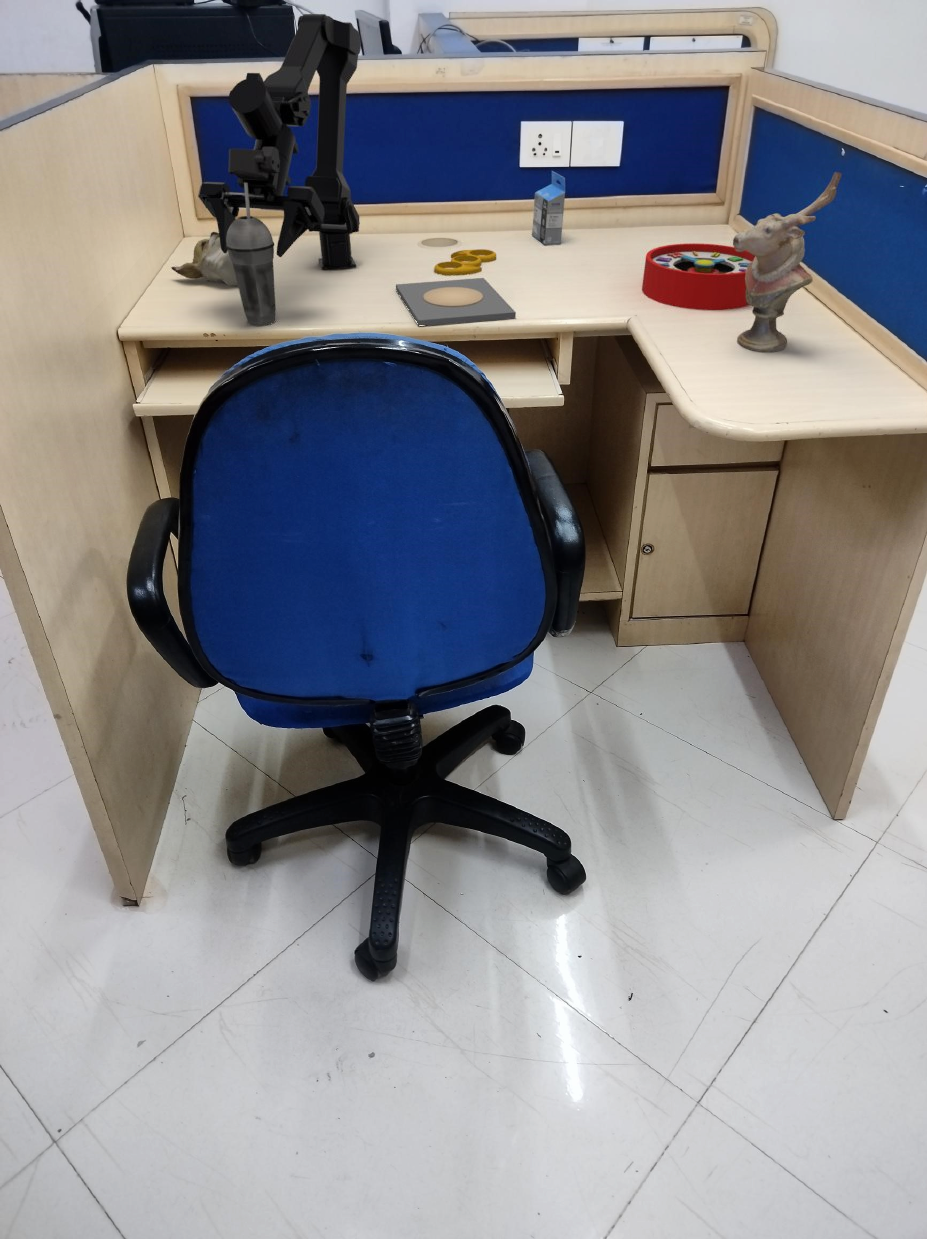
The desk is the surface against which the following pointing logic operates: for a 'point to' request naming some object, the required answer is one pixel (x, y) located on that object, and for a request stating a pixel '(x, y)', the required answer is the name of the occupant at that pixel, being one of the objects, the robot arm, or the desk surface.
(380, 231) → the desk surface
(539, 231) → the label tape box
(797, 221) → the decorative bust
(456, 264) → the yellow joined rings
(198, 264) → the ceramic sculpture
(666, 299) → the toy clock
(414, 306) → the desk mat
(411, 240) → the desk surface
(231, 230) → the beverage cup
